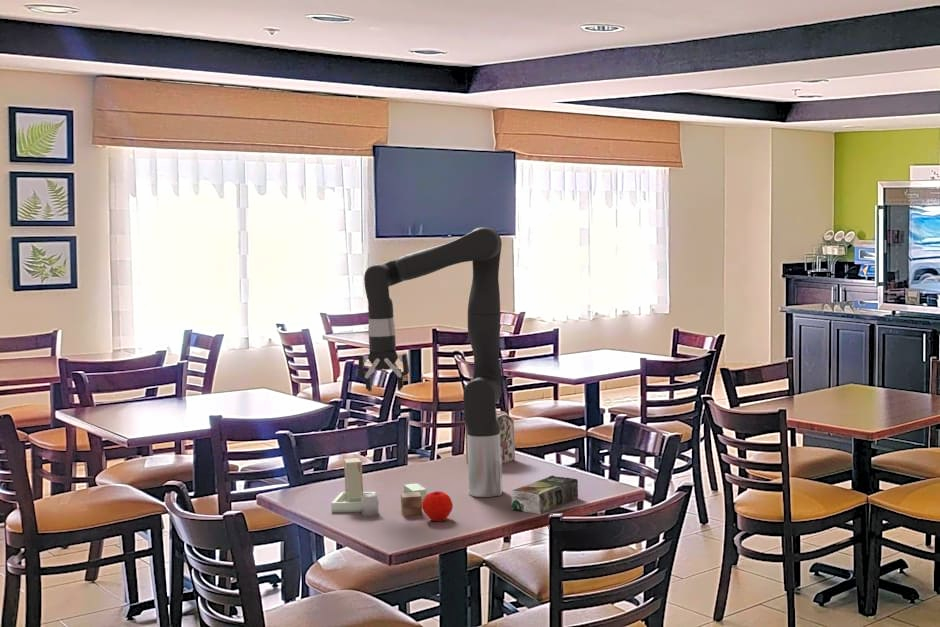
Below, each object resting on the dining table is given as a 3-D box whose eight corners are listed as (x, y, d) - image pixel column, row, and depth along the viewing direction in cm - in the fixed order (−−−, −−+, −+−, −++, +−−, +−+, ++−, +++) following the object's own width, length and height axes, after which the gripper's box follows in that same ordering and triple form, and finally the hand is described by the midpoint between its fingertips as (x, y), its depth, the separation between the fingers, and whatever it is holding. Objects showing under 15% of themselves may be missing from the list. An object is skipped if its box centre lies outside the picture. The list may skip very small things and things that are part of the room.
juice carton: (538, 516, 275) (538, 492, 274) (508, 511, 281) (507, 488, 280) (579, 500, 291) (579, 478, 290) (550, 496, 297) (549, 474, 296)
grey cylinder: (379, 511, 284) (379, 493, 283) (376, 516, 279) (376, 497, 279) (363, 511, 284) (363, 493, 284) (360, 516, 280) (359, 497, 279)
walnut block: (419, 510, 284) (419, 491, 284) (422, 514, 279) (421, 496, 279) (401, 511, 284) (400, 493, 283) (403, 516, 279) (402, 497, 278)
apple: (424, 515, 278) (423, 488, 277) (454, 515, 277) (453, 487, 277) (420, 524, 270) (419, 495, 270) (451, 523, 269) (450, 495, 269)
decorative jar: (465, 463, 341) (463, 407, 339) (487, 456, 350) (486, 402, 348) (494, 467, 333) (492, 410, 332) (516, 460, 342) (514, 405, 340)
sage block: (426, 503, 291) (426, 489, 291) (413, 505, 290) (412, 490, 290) (417, 497, 299) (417, 483, 299) (404, 498, 297) (403, 484, 297)
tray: (376, 500, 296) (376, 491, 295) (368, 511, 284) (367, 502, 284) (341, 500, 297) (341, 492, 296) (331, 512, 285) (331, 502, 285)
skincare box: (364, 506, 288) (362, 461, 287) (348, 507, 287) (346, 463, 286) (361, 500, 294) (359, 457, 293) (345, 501, 293) (343, 458, 292)
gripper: (408, 332, 304) (411, 388, 305) (359, 333, 305) (362, 389, 306) (404, 334, 296) (407, 391, 297) (354, 336, 297) (357, 393, 299)
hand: (384, 390), depth 302 cm, fingers open, 8 cm apart
